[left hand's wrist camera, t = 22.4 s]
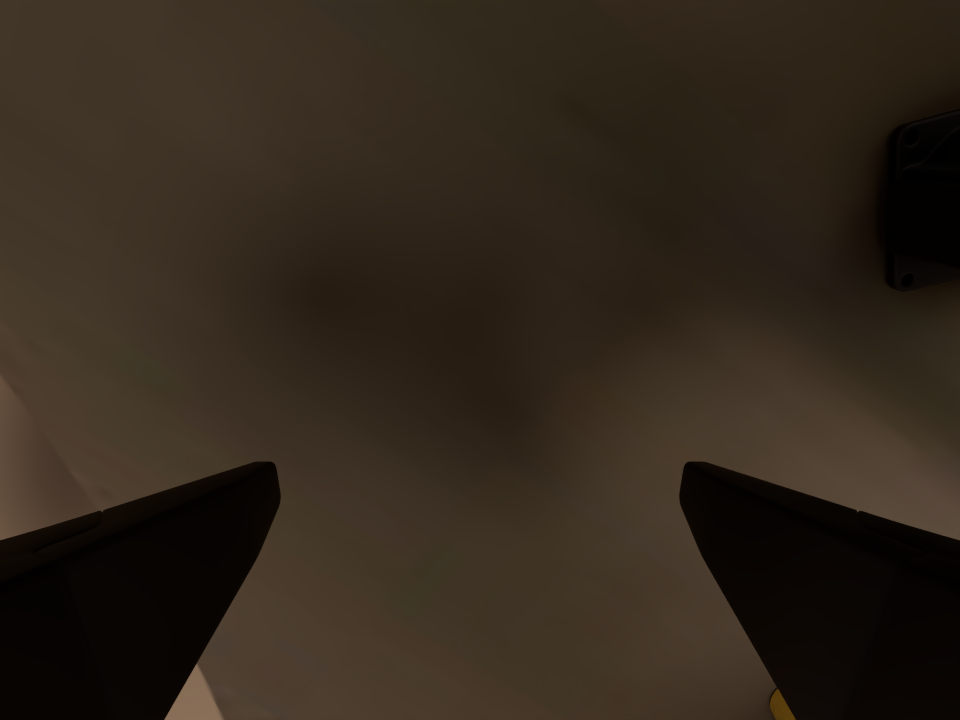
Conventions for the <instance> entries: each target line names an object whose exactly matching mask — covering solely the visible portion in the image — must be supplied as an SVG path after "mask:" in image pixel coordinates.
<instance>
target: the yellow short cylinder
mask: <svg viewBox="0 0 960 720" xmlns="http://www.w3.org/2000/svg"><path fill="white" fill-rule="evenodd" d="M770 708H771V711H772V713H773V715H774V717H775V719H776V720H796V719H795V717H794V716H793V714H792V712H791V711H790V709H789V707H788V705H787V704H786V702H785V700H784V698H783V697H782V695H781V693H780V691H779V690H778V689H777V690H776V691H775V692H774V693H773V695H772V697H771V701H770Z"/></svg>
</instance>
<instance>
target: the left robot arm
mask: <svg viewBox="0 0 960 720" xmlns="http://www.w3.org/2000/svg"><path fill="white" fill-rule="evenodd" d="M908 132H910V134H911V138H910V140H909V142H908V143H907V144H906V143H905V136H906V135H907V133H908ZM887 249H888V284H889V286H890V287H891V288H893V289H896V290H899V291H902V292H903V291H910V290H914V289H918V288H923V287H927V286H931V285H935V284H939V283H943V282H947V281H952V280H956V279H960V109H957V110H954V111H950V112H946V113H943V114H939V115H935V116H932V117H928V118H924V119H920V120H917V121H913V122H909V123H906V124H903V125H901V126H899V127H898V128H897V129H895V130H894V132H893V134H892V135H891V139H890V169H889V188H888V195H887ZM904 275H907V277H906V279H905V280H904V282H902V283H901V279H902V277H903V276H904ZM280 499H281V494H280V487H279V481H278V475H277V469H276V466H275V464H274V463H273V462H253V463H250V464H247V465H244V466H240V467H237V468H234V469H231V470H228V471H225V472H222V473H218V474H215V475H212V476H209V477H206V478H203V479H200V480H196V481H193V482H190V483H187V484H184V485H181V486H178V487H174V488H171V489H168V490H165V491H162V492H159V493H156V494H152V495H149V496H146V497H143V498H140V499H137V500H134V501H131V502H127V503H124V504H121V505H118V506H115V507H112V508H109V509H105V510H104V511H103V512H101V511H97V512H94V513H91V514H87V515H84V516H81V517H78V518H75V519H72V520H68V521H65V522H62V523H58V524H55V525H52V526H49V527H45V528H42V529H38V530H35V531H31V532H28V533H25V534H21V535H18V536H14V537H11V538H7V539H4V540H0V720H164V719H165V717H166V716H167V714H168V712H169V711H170V709H171V707H172V705H173V703H174V702H175V700H176V698H177V697H178V695H179V693H180V691H181V690H182V688H183V686H184V684H185V683H186V681H187V679H188V677H189V676H190V674H191V672H192V671H193V669H194V667H195V665H196V664H197V662H198V660H199V658H200V657H201V655H202V653H203V651H204V650H205V648H206V646H207V644H208V643H209V641H210V639H211V637H212V636H213V634H214V632H215V630H216V629H217V627H218V625H219V624H220V622H221V620H222V618H223V617H224V615H225V613H226V611H227V610H228V608H229V606H230V604H231V603H232V601H233V599H234V597H235V596H236V594H237V592H238V590H239V589H240V587H241V585H242V584H243V582H244V580H245V578H246V577H247V575H248V573H249V571H250V570H251V568H252V566H253V564H254V563H255V561H256V559H257V557H258V555H259V553H260V551H261V548H262V546H263V544H264V541H265V539H266V536H267V534H268V532H269V529H270V527H271V524H272V522H273V520H274V517H275V515H276V512H277V510H278V508H279V505H280ZM679 499H680V505H681V508H682V510H683V512H684V515H685V517H686V520H687V522H688V524H689V527H690V529H691V532H692V534H693V536H694V539H695V541H696V544H697V546H698V548H699V551H700V553H701V555H702V557H703V559H704V561H705V563H706V564H707V566H708V568H709V570H710V571H711V573H712V575H713V577H714V578H715V580H716V582H717V584H718V585H719V587H720V589H721V590H722V592H723V594H724V596H725V597H726V599H727V601H728V603H729V604H730V606H731V608H732V610H733V611H734V613H735V615H736V617H737V618H738V620H739V622H740V624H741V625H742V627H743V629H744V631H745V632H746V634H747V636H748V637H749V639H750V641H751V643H752V644H753V646H754V648H755V650H756V651H757V653H758V655H759V657H760V658H761V660H762V662H763V664H764V665H765V667H766V669H767V671H768V672H769V674H770V676H771V677H772V679H773V681H774V683H775V684H776V686H777V688H778V690H779V691H780V693H781V695H782V697H783V698H784V700H785V702H786V704H787V705H788V707H789V709H790V711H791V712H792V714H793V716H794V717H795V719H796V720H960V540H956V539H953V538H949V537H946V536H942V535H939V534H935V533H932V532H929V531H925V530H922V529H918V528H915V527H911V526H908V525H905V524H902V523H898V522H895V521H892V520H889V519H885V518H882V517H879V516H876V515H873V514H869V513H866V512H863V511H859V512H857V511H856V510H855V509H851V508H848V507H845V506H842V505H839V504H836V503H833V502H829V501H826V500H823V499H820V498H817V497H814V496H811V495H808V494H804V493H801V492H798V491H795V490H792V489H789V488H786V487H782V486H779V485H776V484H773V483H770V482H767V481H764V480H760V479H757V478H754V477H751V476H748V475H745V474H742V473H738V472H735V471H732V470H729V469H726V468H723V467H720V466H716V465H713V464H710V463H707V462H687V463H686V464H685V466H684V469H683V475H682V481H681V487H680V494H679Z"/></svg>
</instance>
